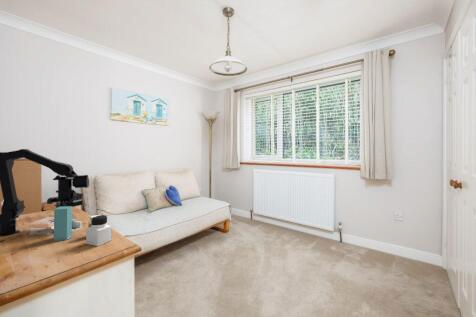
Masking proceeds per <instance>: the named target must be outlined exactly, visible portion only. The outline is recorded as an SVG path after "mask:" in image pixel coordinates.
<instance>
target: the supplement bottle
mask: <svg viewBox="0 0 476 317" xmlns="http://www.w3.org/2000/svg"><path fill="white" fill-rule="evenodd" d="M98 215H99V214H94V215H91V216H89V221H88V223H87V224H88V225H87V226H88V227H87V228H89V227H92V226H91V219H92V217H94V216H98Z"/></svg>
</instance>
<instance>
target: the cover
mask: <svg viewBox="0 0 476 317" xmlns="http://www.w3.org/2000/svg"><path fill="white" fill-rule="evenodd" d="M49 221H52V222H54V218H51V219H49V220H48V222H49ZM72 221H77V220H76V218H75V214H73V213H72Z"/></svg>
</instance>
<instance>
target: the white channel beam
mask: <svg viewBox="0 0 476 317" xmlns="http://www.w3.org/2000/svg"><path fill="white" fill-rule="evenodd" d="M81 229H83V221H78V220H75V221H72V232H75V231H77V230H78V231H79V230H81Z"/></svg>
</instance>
